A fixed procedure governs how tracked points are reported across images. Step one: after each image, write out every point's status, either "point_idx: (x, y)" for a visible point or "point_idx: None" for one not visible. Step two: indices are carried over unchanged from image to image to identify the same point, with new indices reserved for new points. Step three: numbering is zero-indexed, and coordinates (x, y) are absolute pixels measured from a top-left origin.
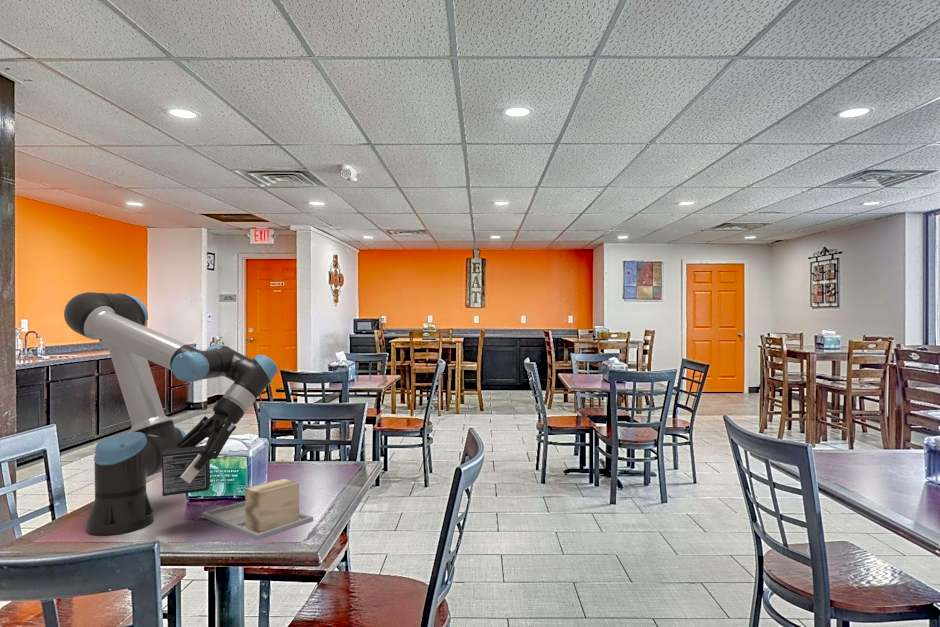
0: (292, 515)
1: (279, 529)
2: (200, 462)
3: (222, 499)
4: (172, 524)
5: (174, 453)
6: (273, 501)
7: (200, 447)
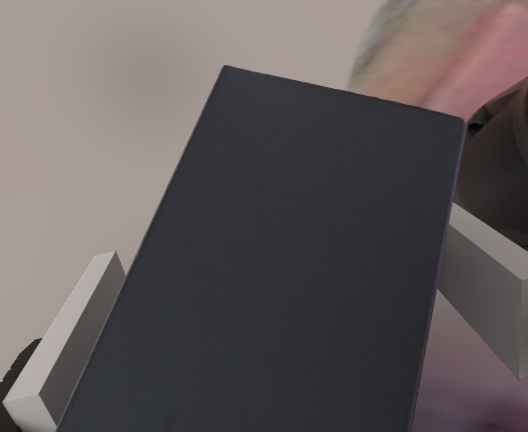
0: None
1: None
2: (2, 388)
3: None
4: (460, 337)
5: (177, 164)
6: None
7: None
